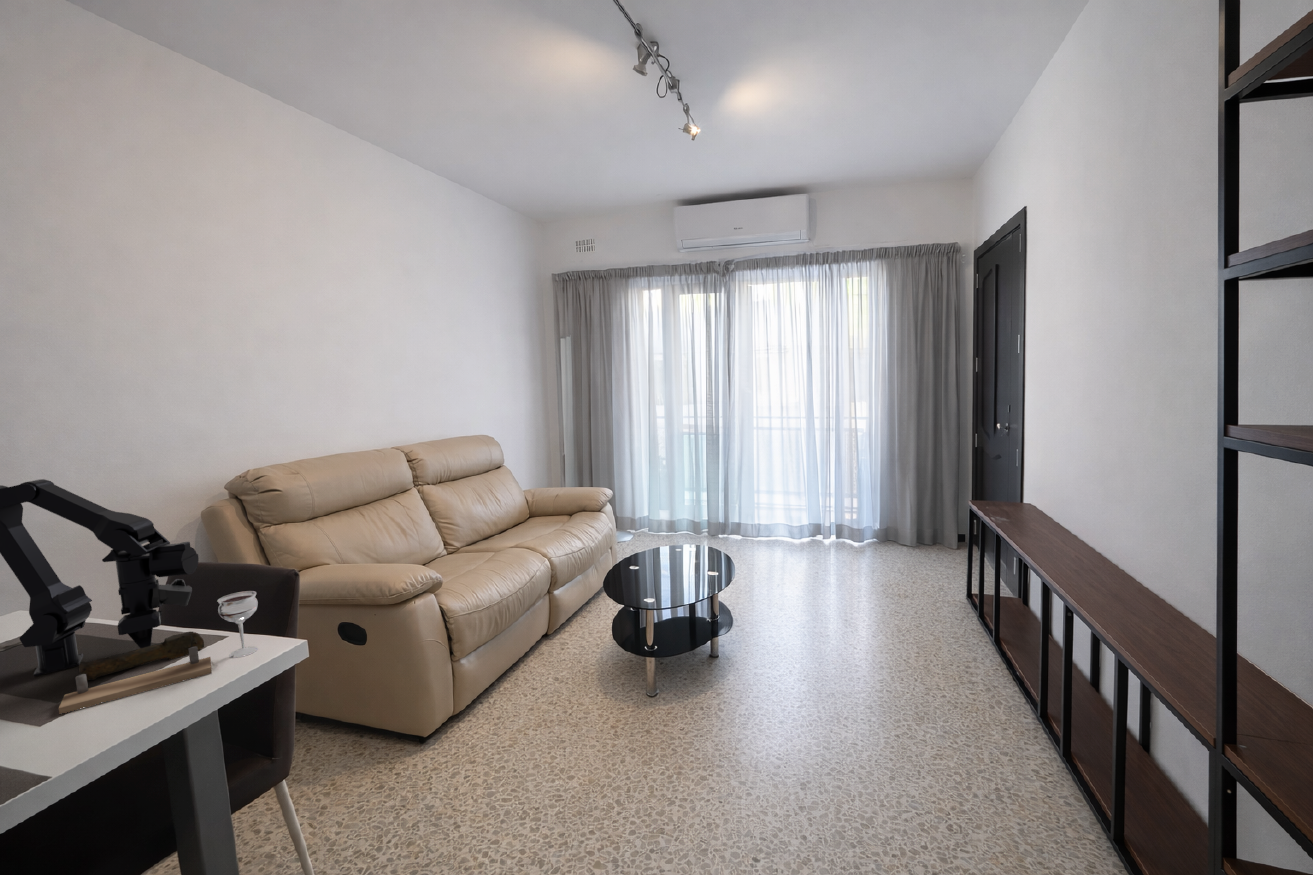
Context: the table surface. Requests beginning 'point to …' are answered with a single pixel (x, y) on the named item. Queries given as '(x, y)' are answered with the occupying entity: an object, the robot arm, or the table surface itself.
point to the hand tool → (142, 655)
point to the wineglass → (239, 615)
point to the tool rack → (134, 683)
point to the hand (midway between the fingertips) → (147, 650)
